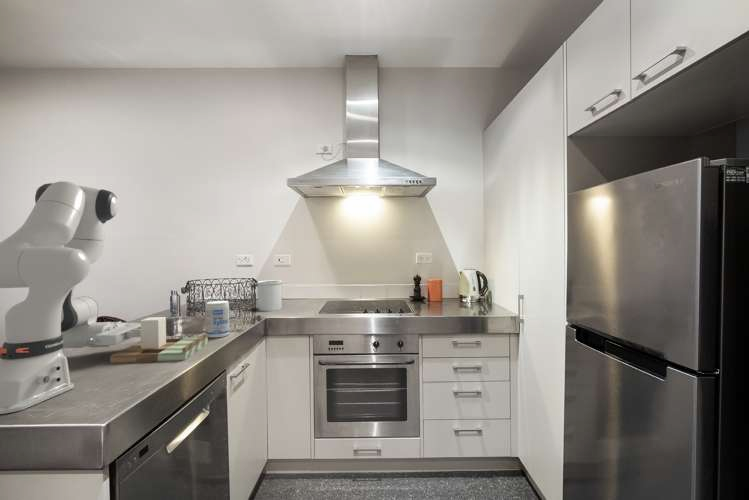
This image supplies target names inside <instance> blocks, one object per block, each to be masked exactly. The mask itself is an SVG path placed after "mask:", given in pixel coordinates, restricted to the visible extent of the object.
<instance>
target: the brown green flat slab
mask: <svg viewBox="0 0 749 500" xmlns="http://www.w3.org/2000/svg"><path fill="white" fill-rule="evenodd" d="M208 339H209V337H208V335H207V333H206V332H205V333H203V334H202V335H200V336H198V337H181V338H180V337H179V338H166V344H165V345H163V346H161V347H159V348H143V349H141V340H140V341H138V342H136V343H134V344H131V345H130V346H128V347H126V348H124V349H122V350H119V351H117V352H115V353H113V354H111V355H110V357H109V358H110V361H109V363H110V364H126V363H129V364H130V363H148V362H151V363H152V362H165V361H167V362H170V361H186V360H188V359H189V358H190V357H192V356H193V355H194V354H195V353H196V352H198V351H199V350H201V349H203V347H205V346H206V345H207V344H208V341H209V340H208Z"/></svg>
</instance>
